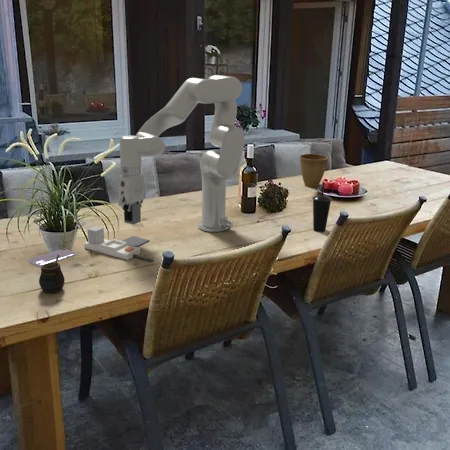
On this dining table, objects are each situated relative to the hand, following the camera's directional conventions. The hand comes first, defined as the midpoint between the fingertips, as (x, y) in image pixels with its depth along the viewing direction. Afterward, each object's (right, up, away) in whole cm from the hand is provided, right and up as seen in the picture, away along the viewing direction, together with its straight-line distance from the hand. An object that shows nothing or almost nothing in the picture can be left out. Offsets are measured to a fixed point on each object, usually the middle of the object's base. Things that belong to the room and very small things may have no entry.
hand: (132, 218), depth 191 cm
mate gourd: (-18, -22, -35) cm, 45 cm away
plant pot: (+81, +19, +88) cm, 121 cm away
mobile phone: (-26, -14, -12) cm, 32 cm away
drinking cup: (+73, -5, +21) cm, 76 cm away
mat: (0, -9, +3) cm, 9 cm away
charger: (0, -1, 0) cm, 1 cm away
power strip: (-3, -12, -7) cm, 15 cm away
